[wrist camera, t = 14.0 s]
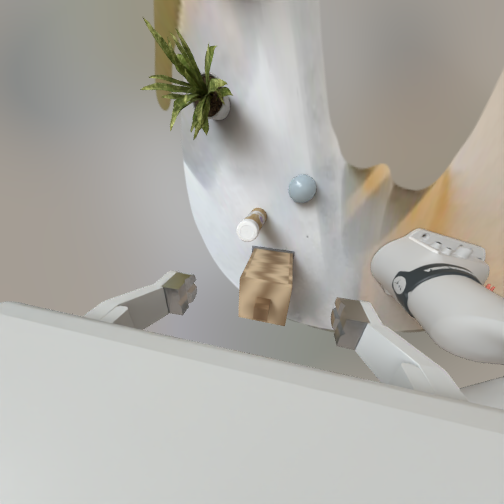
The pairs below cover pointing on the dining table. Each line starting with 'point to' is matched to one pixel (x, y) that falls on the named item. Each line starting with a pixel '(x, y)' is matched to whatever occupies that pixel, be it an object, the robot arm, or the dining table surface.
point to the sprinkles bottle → (251, 225)
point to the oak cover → (266, 286)
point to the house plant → (193, 85)
